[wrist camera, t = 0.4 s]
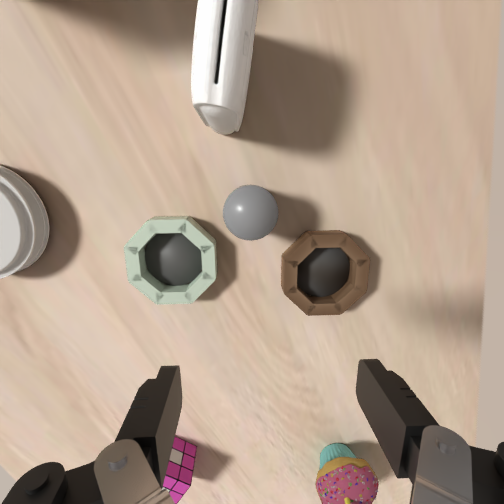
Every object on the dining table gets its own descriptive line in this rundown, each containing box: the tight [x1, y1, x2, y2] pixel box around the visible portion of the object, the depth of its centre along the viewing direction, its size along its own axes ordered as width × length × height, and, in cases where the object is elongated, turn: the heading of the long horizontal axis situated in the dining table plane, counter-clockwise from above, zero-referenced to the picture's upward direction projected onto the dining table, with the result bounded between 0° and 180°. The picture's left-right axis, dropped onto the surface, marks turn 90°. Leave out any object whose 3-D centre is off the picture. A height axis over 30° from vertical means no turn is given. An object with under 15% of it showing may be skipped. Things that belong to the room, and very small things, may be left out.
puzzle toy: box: [162, 437, 197, 504], centre depth 40 cm, size 6×6×6 cm
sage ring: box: [124, 216, 217, 304], centre depth 34 cm, size 10×10×2 cm
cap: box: [223, 185, 278, 240], centre depth 31 cm, size 5×5×6 cm
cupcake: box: [316, 443, 378, 504], centre depth 39 cm, size 9×8×12 cm
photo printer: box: [191, 0, 258, 135], centre depth 25 cm, size 10×4×12 cm, turn 171°
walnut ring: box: [281, 230, 370, 316], centre depth 35 cm, size 10×10×2 cm
